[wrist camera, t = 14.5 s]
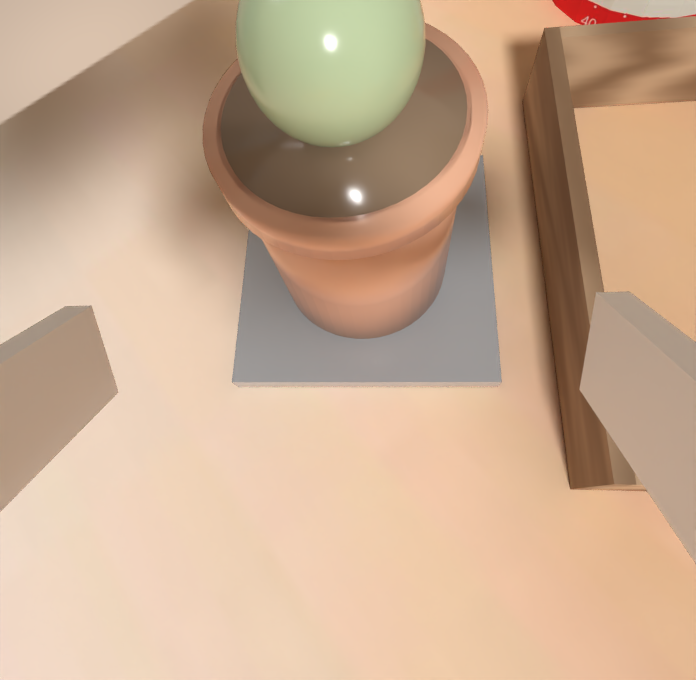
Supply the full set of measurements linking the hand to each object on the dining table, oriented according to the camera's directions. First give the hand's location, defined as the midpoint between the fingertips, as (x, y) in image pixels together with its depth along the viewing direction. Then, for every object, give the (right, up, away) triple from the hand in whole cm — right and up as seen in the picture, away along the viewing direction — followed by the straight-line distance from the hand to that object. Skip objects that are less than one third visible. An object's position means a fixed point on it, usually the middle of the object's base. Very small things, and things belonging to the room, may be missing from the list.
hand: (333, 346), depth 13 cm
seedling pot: (+1, +4, +14) cm, 15 cm away
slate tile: (+1, +4, +15) cm, 16 cm away
